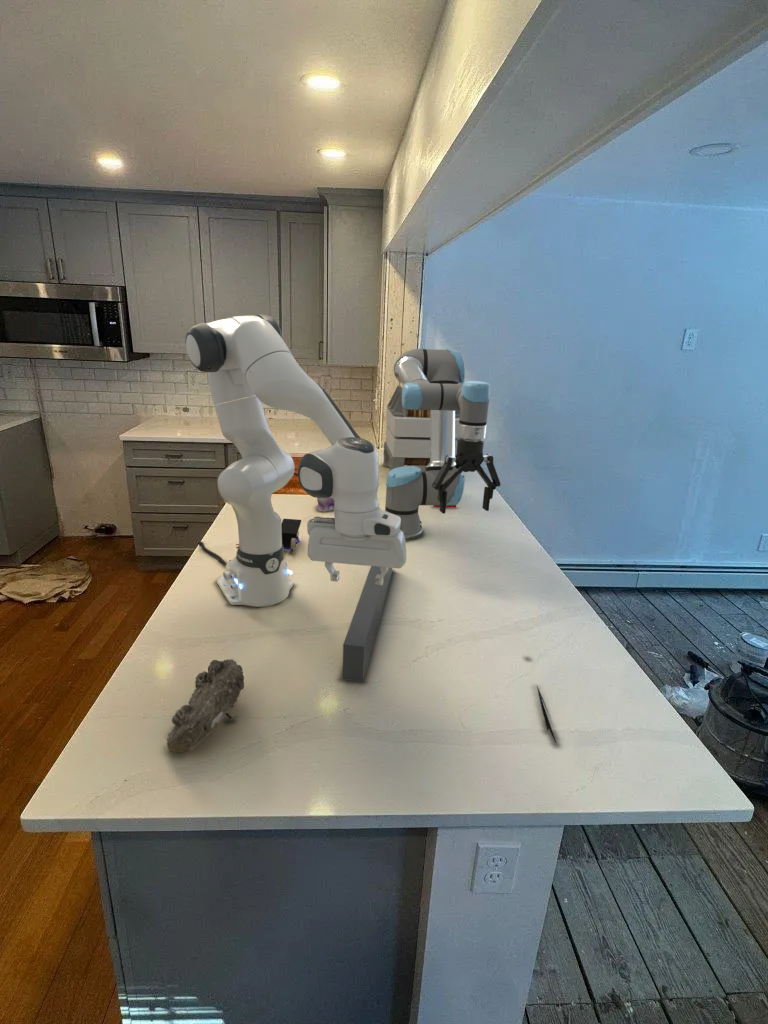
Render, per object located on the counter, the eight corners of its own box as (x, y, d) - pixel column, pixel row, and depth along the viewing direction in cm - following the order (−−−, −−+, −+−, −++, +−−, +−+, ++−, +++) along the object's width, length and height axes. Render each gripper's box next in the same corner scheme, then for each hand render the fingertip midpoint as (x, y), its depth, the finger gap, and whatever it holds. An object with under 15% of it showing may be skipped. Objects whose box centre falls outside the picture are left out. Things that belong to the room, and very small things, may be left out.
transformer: (382, 463, 289) (386, 382, 275) (445, 464, 293) (451, 384, 279) (390, 482, 257) (394, 392, 243) (460, 483, 261) (468, 394, 247)
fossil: (192, 660, 117) (244, 628, 112) (224, 691, 120) (276, 661, 115) (142, 746, 98) (202, 712, 93) (182, 779, 101) (242, 748, 96)
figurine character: (297, 560, 179) (302, 537, 192) (296, 539, 175) (302, 517, 189) (275, 559, 178) (282, 536, 192) (274, 538, 175) (281, 516, 189)
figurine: (320, 513, 215) (320, 475, 210) (311, 505, 224) (311, 468, 219) (343, 510, 219) (344, 473, 214) (333, 502, 228) (333, 466, 223)
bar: (377, 569, 172) (379, 543, 169) (392, 571, 172) (393, 544, 169) (342, 679, 121) (343, 644, 118) (362, 681, 120) (364, 646, 117)
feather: (528, 662, 131) (533, 656, 131) (556, 747, 105) (562, 740, 104) (522, 659, 131) (527, 652, 130) (548, 742, 104) (555, 735, 104)
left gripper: (301, 521, 112) (304, 584, 117) (403, 529, 109) (402, 593, 113) (311, 511, 118) (313, 571, 123) (408, 518, 115) (407, 580, 119)
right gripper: (434, 443, 150) (428, 517, 157) (518, 440, 157) (508, 512, 164) (424, 436, 157) (419, 508, 164) (505, 434, 164) (497, 504, 171)
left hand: (356, 582), depth 118 cm, fingers open, 8 cm apart
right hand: (464, 510), depth 164 cm, fingers open, 13 cm apart
